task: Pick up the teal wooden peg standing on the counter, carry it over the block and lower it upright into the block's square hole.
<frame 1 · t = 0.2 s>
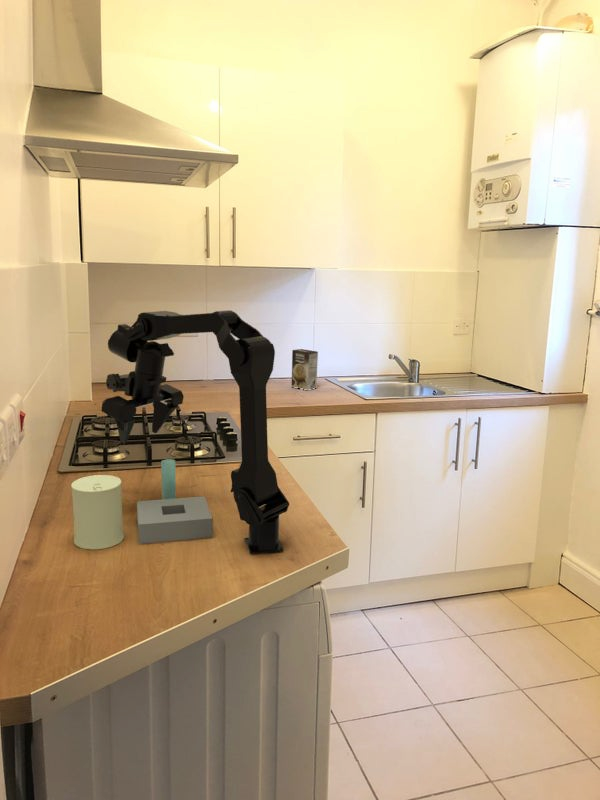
hand: (139, 437, 139), 15 cm above the worktop, tool pointing down, fingers open, 9 cm apart
can: (99, 540, 125), on the worktop
hole block: (173, 528, 130), on the worktop
peg: (169, 504, 142), on the worktop
coffee box: (303, 389, 270), on the worktop
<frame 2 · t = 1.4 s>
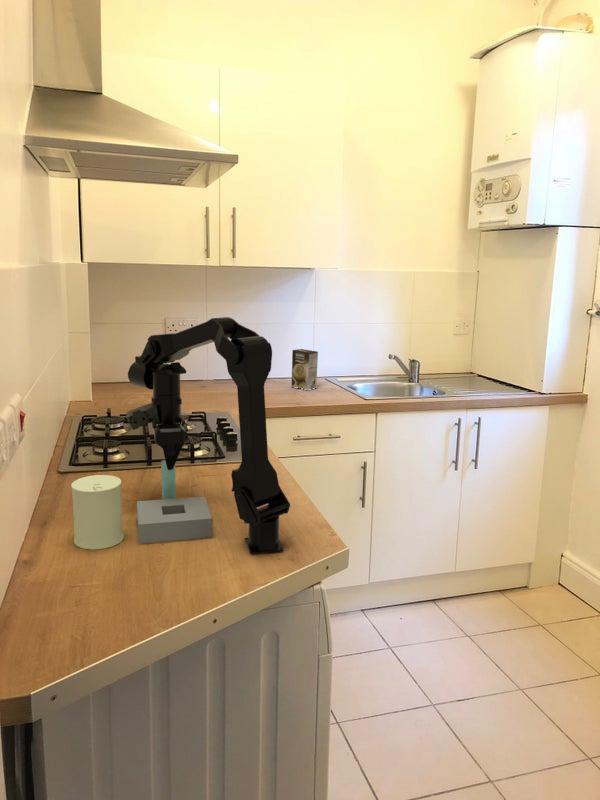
hand: (168, 462, 140), 10 cm above the worktop, tool pointing down, fingers open, 9 cm apart
nothing on the worktop moved.
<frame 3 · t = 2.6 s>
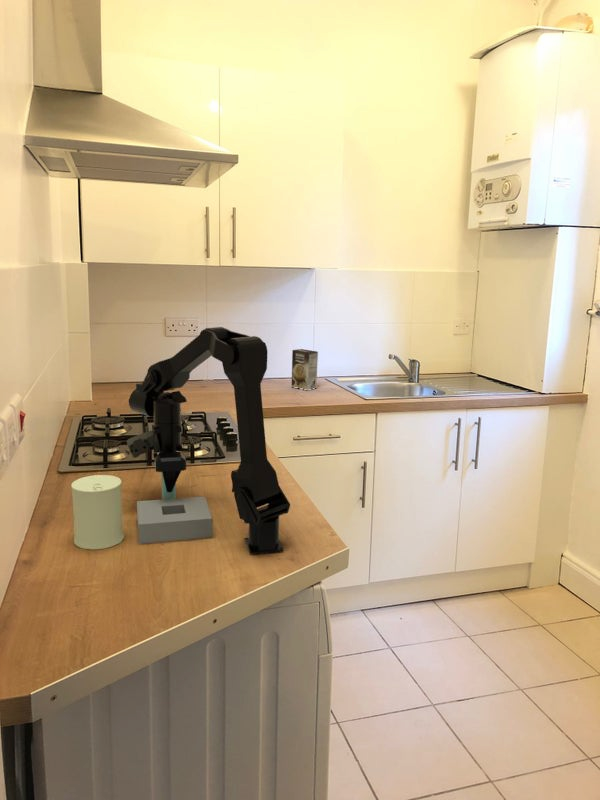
hand: (168, 489, 142), 4 cm above the worktop, tool pointing down, fingers closed on peg, 3 cm apart
peg: (169, 504, 142), on the worktop, touching gripper
everything else where it was.
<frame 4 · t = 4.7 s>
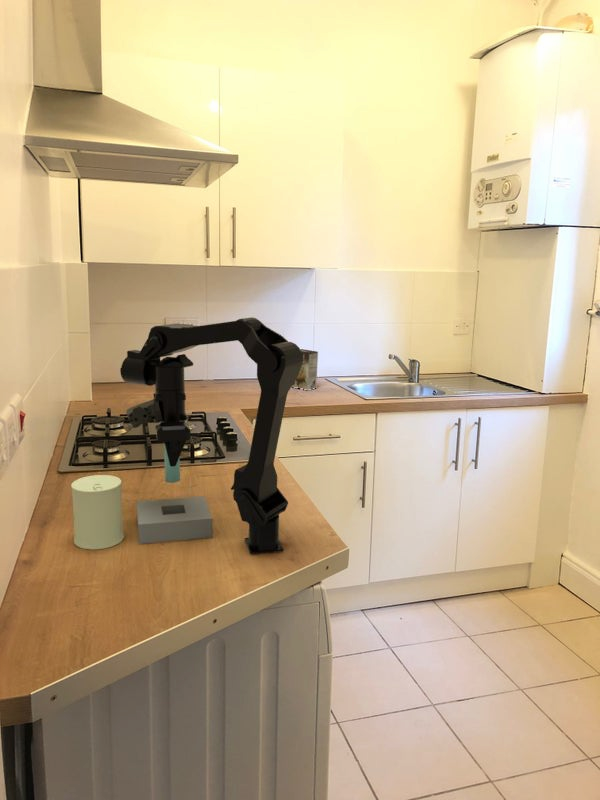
hand: (172, 463, 130), 13 cm above the worktop, tool pointing down, fingers closed on peg, 3 cm apart
peg: (172, 480, 131), point 9 cm above the worktop, touching gripper
everything else where it was.
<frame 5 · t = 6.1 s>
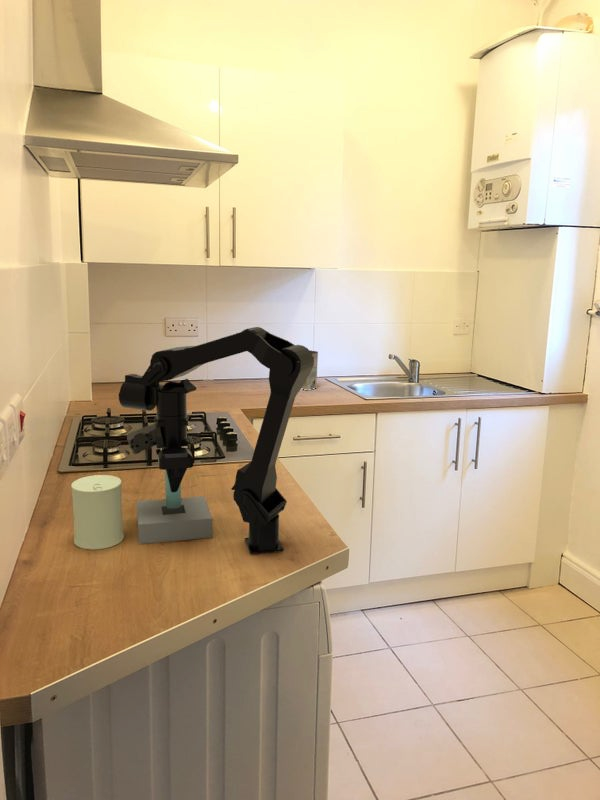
hand: (173, 489, 128), 8 cm above the worktop, tool pointing down, fingers closed on peg, 3 cm apart
peg: (173, 505, 129), point 5 cm above the worktop, touching gripper
everything else where it was.
when the fingers open (5 cm above the worktop, at t = 7.0 s): peg drops 2 cm, resting in hole block.
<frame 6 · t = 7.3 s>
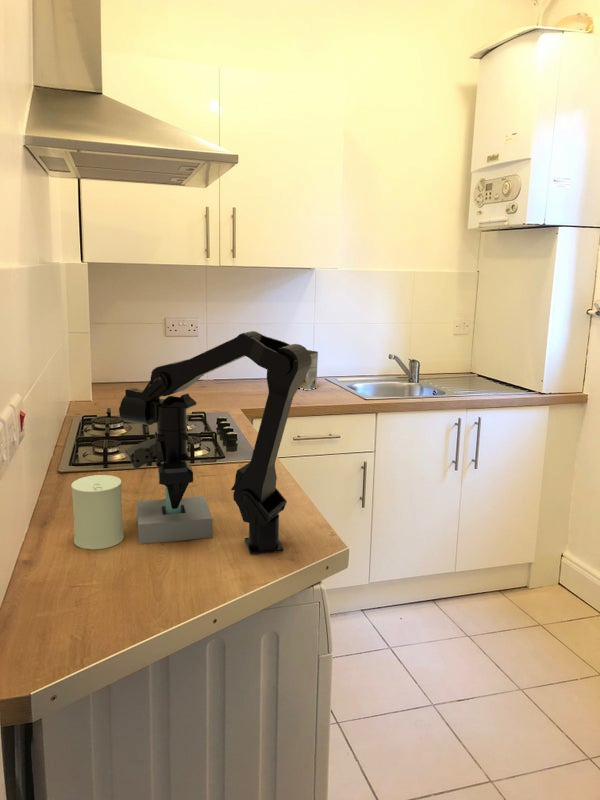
hand: (173, 502, 129), 5 cm above the worktop, tool pointing down, fingers open, 6 cm apart
peg: (173, 528, 130), resting in hole block
everything else where it was.
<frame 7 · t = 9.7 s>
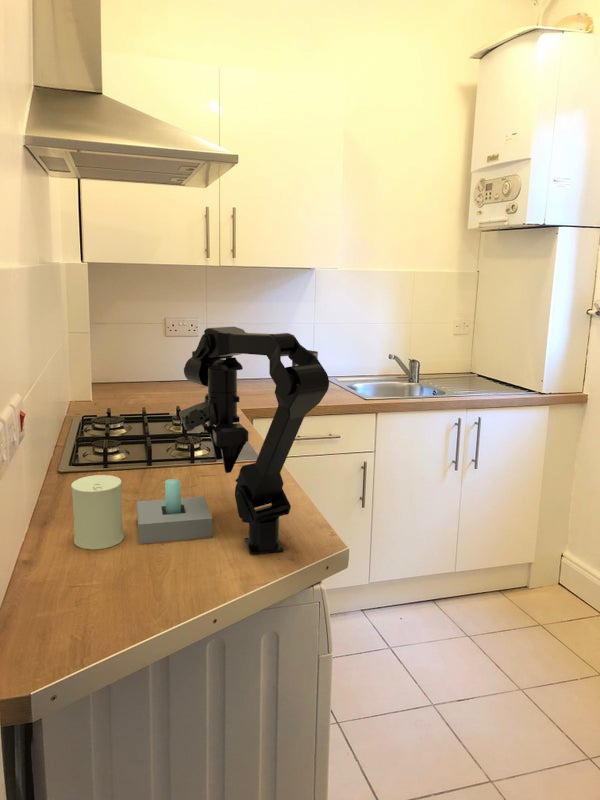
hand: (223, 465, 131), 12 cm above the worktop, tool pointing down, fingers open, 9 cm apart
nothing on the worktop moved.
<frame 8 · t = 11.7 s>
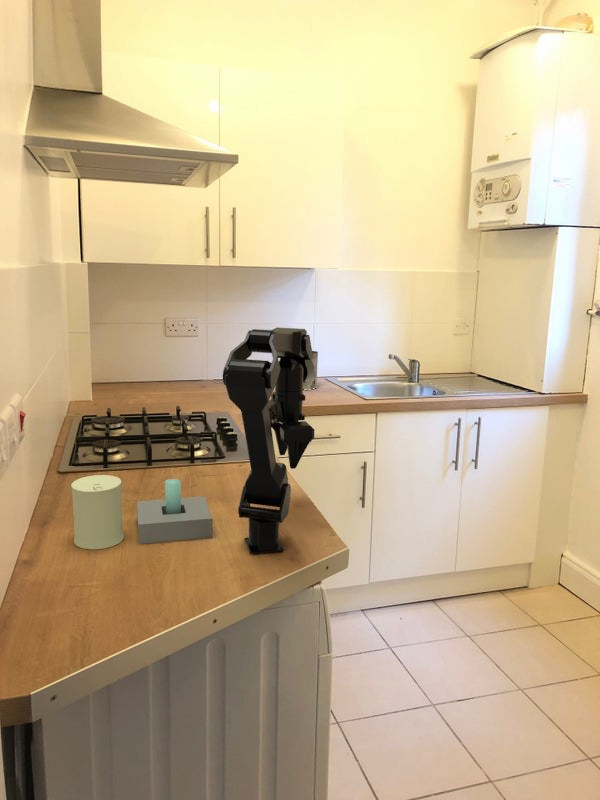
hand: (287, 461, 136), 12 cm above the worktop, tool pointing down, fingers open, 9 cm apart
nothing on the worktop moved.
at the end: peg 0.0 cm off-centre on the hole block, point 0.0 cm above the hole block's base; peg tilted 0°; the gripper is holding nothing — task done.
